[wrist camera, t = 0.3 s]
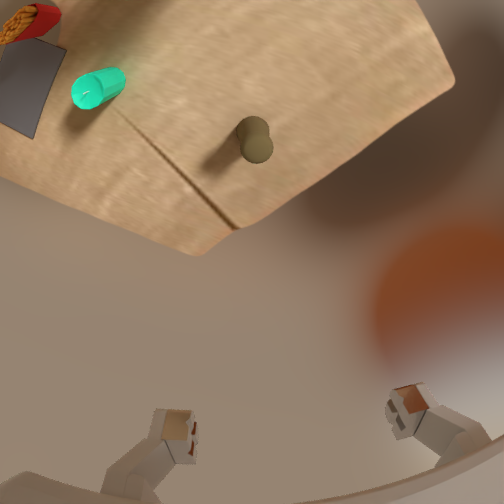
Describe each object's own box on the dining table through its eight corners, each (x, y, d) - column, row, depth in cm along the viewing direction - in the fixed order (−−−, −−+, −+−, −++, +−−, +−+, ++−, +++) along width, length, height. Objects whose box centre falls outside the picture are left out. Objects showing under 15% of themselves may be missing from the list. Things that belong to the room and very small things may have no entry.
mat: (13, 30, 33) (12, 30, 33) (66, 50, 39) (65, 50, 39) (-14, 113, 43) (-15, 114, 42) (33, 138, 49) (32, 138, 49)
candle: (91, 91, 46) (61, 105, 36) (103, 62, 43) (74, 70, 33) (118, 101, 48) (92, 117, 38) (131, 73, 45) (106, 82, 35)
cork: (236, 146, 56) (237, 169, 47) (236, 116, 52) (237, 132, 43) (268, 146, 56) (276, 169, 47) (269, 116, 52) (278, 132, 44)
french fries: (59, 0, 32) (22, -2, 22) (67, 15, 35) (30, 15, 25) (26, 30, 34) (-14, 37, 24) (33, 44, 37) (-6, 53, 27)
